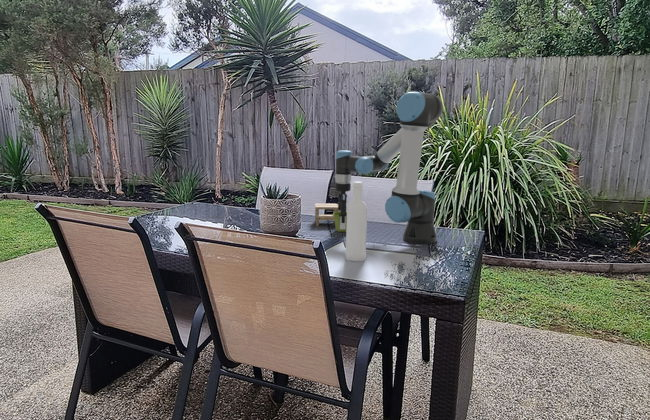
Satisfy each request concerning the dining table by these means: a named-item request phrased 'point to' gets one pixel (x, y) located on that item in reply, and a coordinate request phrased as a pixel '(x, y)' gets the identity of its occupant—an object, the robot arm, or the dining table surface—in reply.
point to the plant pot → (337, 221)
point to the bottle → (356, 226)
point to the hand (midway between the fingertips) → (341, 225)
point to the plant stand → (324, 206)
